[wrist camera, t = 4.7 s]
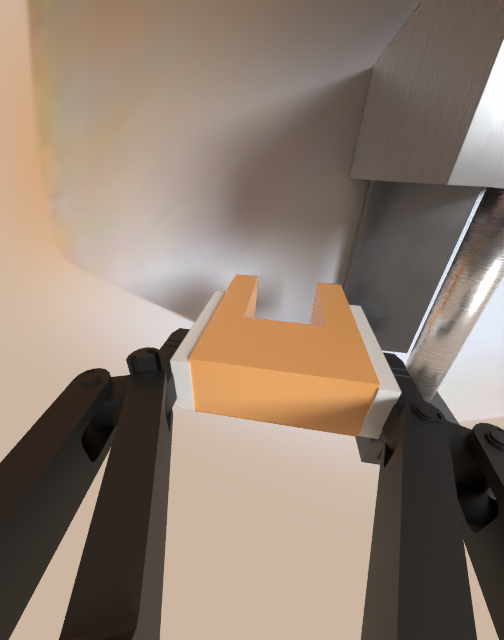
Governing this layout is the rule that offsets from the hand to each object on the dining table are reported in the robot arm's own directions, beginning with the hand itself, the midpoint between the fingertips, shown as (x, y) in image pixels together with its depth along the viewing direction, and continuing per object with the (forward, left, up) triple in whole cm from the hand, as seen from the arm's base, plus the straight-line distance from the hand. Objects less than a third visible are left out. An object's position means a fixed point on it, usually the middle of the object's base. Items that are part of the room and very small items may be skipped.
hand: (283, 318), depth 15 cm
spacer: (0, 0, -3) cm, 3 cm away
